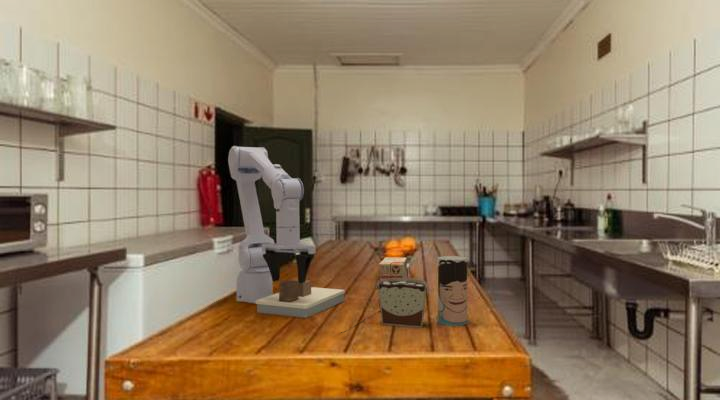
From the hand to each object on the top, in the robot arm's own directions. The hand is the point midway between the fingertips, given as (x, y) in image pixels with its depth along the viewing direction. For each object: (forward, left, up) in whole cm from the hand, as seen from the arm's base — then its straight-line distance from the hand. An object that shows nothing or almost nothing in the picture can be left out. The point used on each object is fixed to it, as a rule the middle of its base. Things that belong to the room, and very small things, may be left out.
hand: (288, 281), depth 130 cm
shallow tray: (0, +7, -8) cm, 11 cm away
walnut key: (0, 0, -8) cm, 8 cm away
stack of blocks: (+19, +25, -9) cm, 32 cm away
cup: (+39, +10, -9) cm, 41 cm away
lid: (0, +7, -5) cm, 8 cm away
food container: (+29, +5, -9) cm, 31 cm away
